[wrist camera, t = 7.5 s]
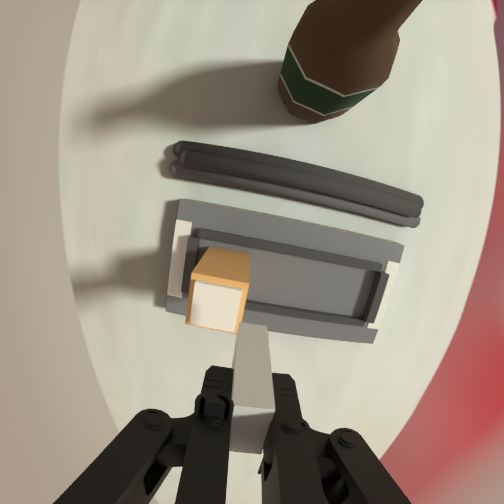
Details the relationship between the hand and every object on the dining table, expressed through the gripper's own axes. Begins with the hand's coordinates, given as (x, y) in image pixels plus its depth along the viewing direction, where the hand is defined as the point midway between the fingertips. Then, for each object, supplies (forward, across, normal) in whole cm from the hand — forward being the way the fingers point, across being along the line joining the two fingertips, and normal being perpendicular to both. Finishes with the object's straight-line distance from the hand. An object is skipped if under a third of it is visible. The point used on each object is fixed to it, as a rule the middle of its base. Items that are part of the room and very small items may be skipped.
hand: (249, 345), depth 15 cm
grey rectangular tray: (+16, +4, 0) cm, 17 cm away
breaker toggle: (+14, -2, 0) cm, 14 cm away
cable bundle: (+16, +4, +10) cm, 19 cm away
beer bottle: (+17, +4, +20) cm, 26 cm away
